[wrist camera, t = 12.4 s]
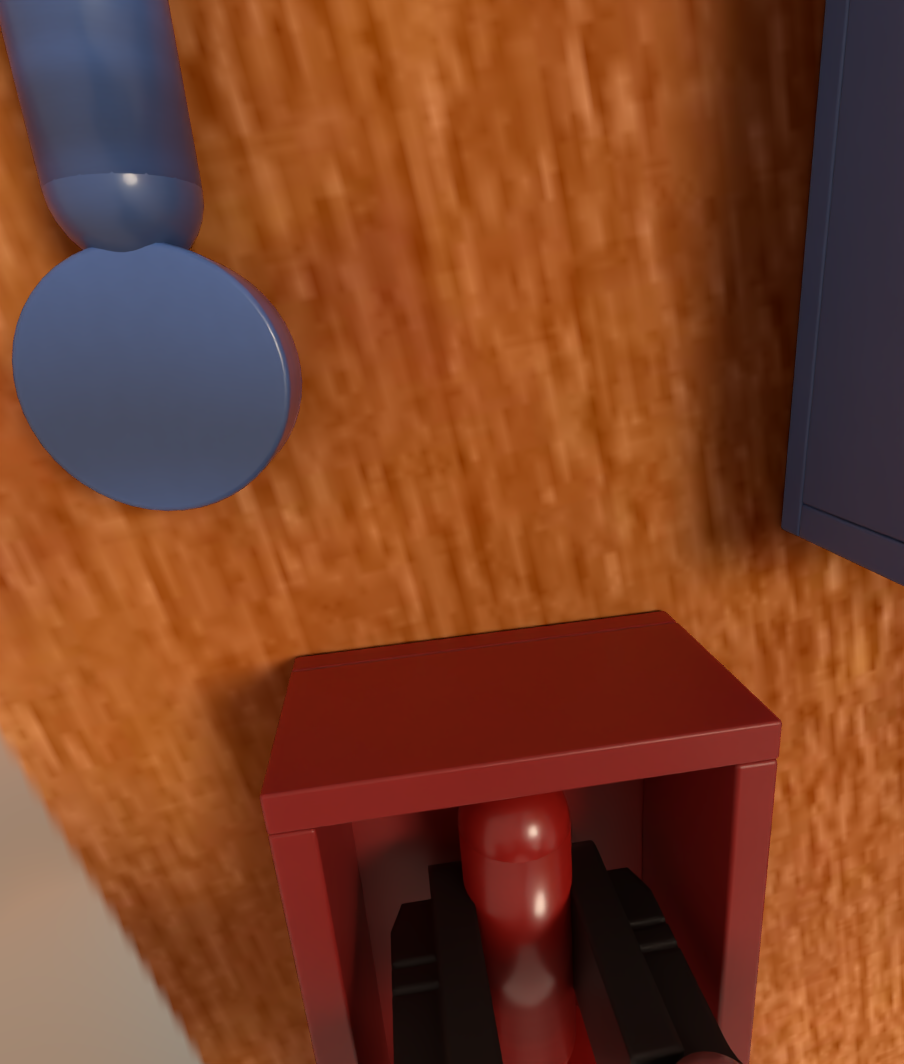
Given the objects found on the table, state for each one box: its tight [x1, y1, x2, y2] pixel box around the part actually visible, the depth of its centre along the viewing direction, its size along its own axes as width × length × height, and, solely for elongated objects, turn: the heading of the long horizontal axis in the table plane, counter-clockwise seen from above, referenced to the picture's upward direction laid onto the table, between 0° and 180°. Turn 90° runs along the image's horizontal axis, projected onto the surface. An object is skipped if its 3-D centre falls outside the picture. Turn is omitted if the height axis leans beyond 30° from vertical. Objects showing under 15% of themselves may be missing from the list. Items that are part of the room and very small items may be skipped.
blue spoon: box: [0, 0, 302, 511], centre depth 8 cm, size 10×3×2 cm, turn 5°
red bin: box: [260, 611, 782, 1064], centre depth 11 cm, size 12×7×4 cm, turn 5°
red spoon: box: [458, 791, 596, 1064], centre depth 11 cm, size 10×3×2 cm, turn 5°
